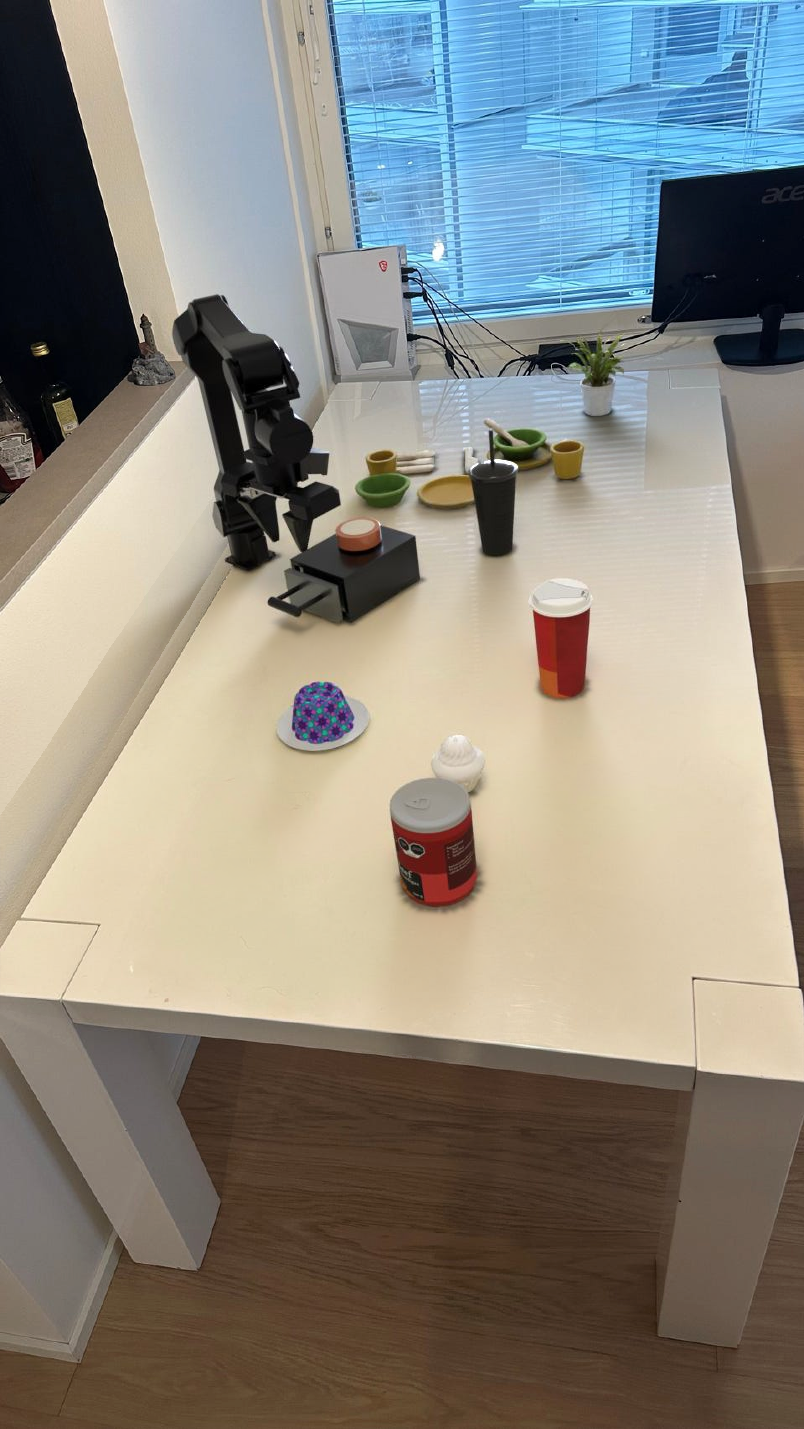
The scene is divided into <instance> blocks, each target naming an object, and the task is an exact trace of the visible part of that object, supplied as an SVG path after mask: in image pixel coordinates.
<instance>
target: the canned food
mask: <svg viewBox="0 0 804 1429" xmlns="http://www.w3.org/2000/svg"><path fill="white" fill-rule="evenodd" d="M389 814H390V822H391V828H392V829H391V830H392V835H393V840H394V841H393V842H394V848H395V852H396V858H397V865H398V871H399V877H400V884H401V886H402V888H403V890H404V891H405V893H406V894H407V896H408V897H410V898H411V899H412V900H413V901H414V902H416V903H419V904H422V905H425V906H430V907H444V906H449V905H453V904H456V903H458V902H460V901H462V900H464V899H465V898H466V897H468V895H470V893H471V892H472V891H473V889H474V886H475V884H476V881H477V878H478V870H477V869H478V868H477V857H476V845H475V834H474V822H473V820H474V819H473V811H472V802H471V799H470V795H469V792H468V793H467V791H466V790H465V789H464V788H463V787H462V786H461V785H459V784H458V783H456V782H454V781H451V780H448V779H444V778H437V777H424V778H419V779H415V780H412V781H410V782H407V783H406V784H405V783H404V784H403V785H402V786H400V787H399V788H398V789H397V790H396V791H395V792H394V793H393V795H392V796H391V798H390V801H389Z"/></svg>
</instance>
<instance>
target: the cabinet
mask: <svg viewBox="0 0 804 1429" xmlns="http://www.w3.org/2000/svg"><path fill="white" fill-rule="evenodd" d="M380 529H381V536H382V539H381V542H380V543H379V544H378V545H376V546H374V547H372V548H370V549H366V550H361V551H347V550H344V549H341V548H340V547H339V546H338V544H337V538H336V533H334V534H332V535H331V536H329V537H326V538H325V539H323V540H321V541H320V542H318V543H316V544H314V545H312V546H311V547H308V549H307V550H306V551H304V552H300V553H298V554H296V555H295V556H292V557H291V558H289V561H290V566H291V568H292V569H295V570H297V571H300V567H302V568H304V569H307V570H310V571H313V572H315V573H318V574H321V575H324V576H326V577H329V578H332V579H335V580H337V581H340V582H341V587H342V593H343V599H344V605H345V611H346V612H343V611H342V616H343V620H342V621H344V622H346V623H349V624H352V623H354V622H355V621H357V620H358V619H361V618H362V617H363V616H365V615H366V614H368V613H371V611H373V610H375V609H376V608H378V607H379V606H381V605H383V604H384V603H385V602H387V601H388V600H390V599H391V598H393V597H395V596H396V595H398V594H400V593H401V592H403V591H404V590H406V589H407V588H409V587H410V586H412V585H414V584H415V583H417V582H419V581H420V580H421V574H420V573H421V572H420V564H419V557H418V556H419V555H418V547H417V538H416V537H417V536H416V535H415V534H413V533H412V534H411V533H408V532H405V531H402V530H399V529H395V528H391V527H388V526H385V525H382V524H380Z"/></svg>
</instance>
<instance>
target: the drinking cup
mask: <svg viewBox="0 0 804 1429" xmlns="http://www.w3.org/2000/svg"><path fill="white" fill-rule="evenodd" d="M488 445H489V450H490V460H488V459H486V460H483V461H481V462H478V464H476V465H474V466H472V467H471V468H470V469H469V471H468V474H467V475H469V477H470V478H471V483H472V489H473V495H474V501H475V503H474V507H475V513H476V519H477V524H478V531H479V537H480V541H481V550H482V552H483V554H484V555H487V556H490V557H502V556H505V555H508V554H510V553H511V552H512V551H513V544H514V525H515V524H514V523H515V506H516V488H517V475H518V474H519V470H518V467H517V465H516V464H514V463H512V462H509V461H504V460H499V459H495V456H494V446H495V445H494V431H493V429H490V428H488Z"/></svg>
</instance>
